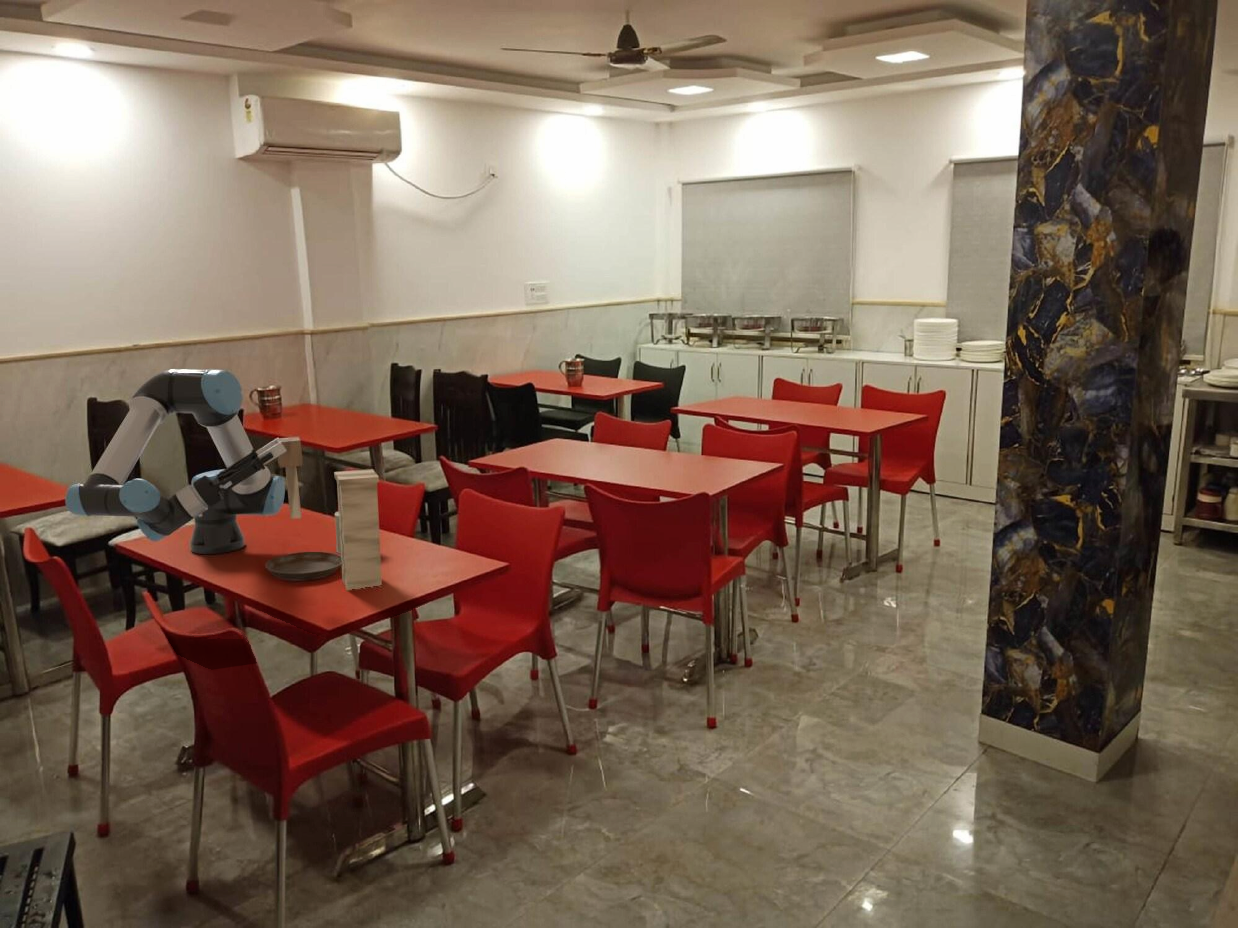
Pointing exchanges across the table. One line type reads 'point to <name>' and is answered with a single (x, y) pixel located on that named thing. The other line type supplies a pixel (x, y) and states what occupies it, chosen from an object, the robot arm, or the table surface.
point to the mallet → (292, 471)
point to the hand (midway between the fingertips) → (282, 444)
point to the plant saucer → (304, 565)
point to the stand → (359, 528)
